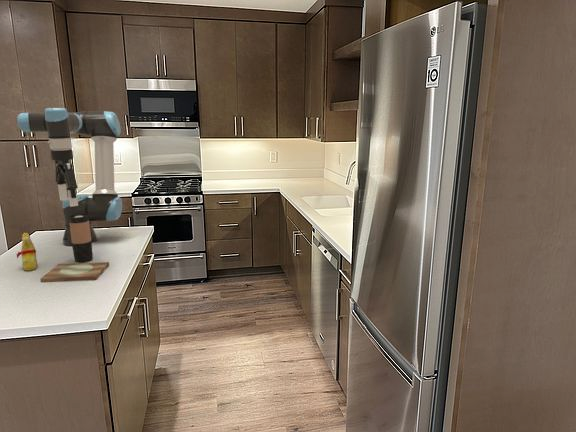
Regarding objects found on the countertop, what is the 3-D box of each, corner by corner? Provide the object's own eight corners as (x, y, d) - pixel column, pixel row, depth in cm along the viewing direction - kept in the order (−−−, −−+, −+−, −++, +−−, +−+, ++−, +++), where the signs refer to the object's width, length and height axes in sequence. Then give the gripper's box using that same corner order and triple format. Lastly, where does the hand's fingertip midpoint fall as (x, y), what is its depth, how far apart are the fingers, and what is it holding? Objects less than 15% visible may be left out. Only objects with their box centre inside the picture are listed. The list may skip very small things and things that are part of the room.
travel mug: (85, 263, 174) (80, 218, 169) (70, 262, 175) (64, 217, 170) (97, 257, 181) (92, 214, 176) (82, 256, 182) (76, 213, 178)
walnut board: (59, 267, 170) (58, 263, 169) (109, 265, 172) (108, 261, 171) (40, 282, 154) (40, 277, 154) (96, 279, 156) (95, 275, 156)
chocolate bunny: (38, 262, 176) (33, 228, 172) (37, 270, 166) (32, 235, 163) (19, 264, 172) (14, 230, 169) (17, 273, 163) (11, 237, 159)
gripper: (42, 147, 163) (50, 199, 169) (59, 152, 146) (68, 210, 151) (62, 146, 168) (69, 196, 174) (82, 151, 151) (89, 207, 156)
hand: (68, 203), depth 163 cm, fingers open, 13 cm apart
